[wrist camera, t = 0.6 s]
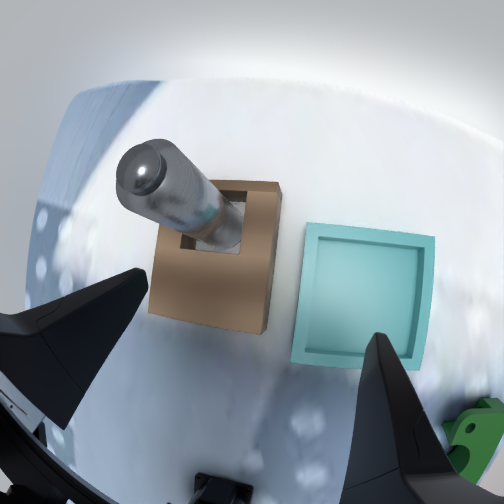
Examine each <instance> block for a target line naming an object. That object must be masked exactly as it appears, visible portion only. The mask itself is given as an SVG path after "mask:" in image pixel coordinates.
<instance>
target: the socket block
mask: <svg viewBox="0 0 504 504" xmlns="http://www.w3.org/2000/svg"><path fill="white" fill-rule="evenodd" d="M209 181H210V182H211V183H212V184H213V185H214V186H215V187H216V188H217V189H218V190H219V191H220V192H221V193H222V195H223V196H224V197H225V198H226V199H227V200H228V201H246V207H245V214H244V222H243V230H242V237H241V245H240V253H239V255H237V254H227V253H217V252H208V251H198V250H194V249H195V242H196V239H194V238H191V237H189V236H187V235H184V234H182V233H180V232H177V231H175V230H173V229H171V228H168V227H166V226H164V225H161V224H160V225H159V230H158V236H157V243H156V249H155V256H154V263H153V271H152V279H151V287H150V296H149V306H148V313H151V314H155V315H159V316H163V317H168V318H172V319H177V320H181V321H186V322H191V323H196V324H201V325H206V326H211V327H216V328H222V329H228V330H233V331H239V332H245V333H252V334H258V335H261V334H262V333H263V332H264V331H265V330H266V329H267V321H268V314H269V306H270V298H271V290H272V281H273V273H274V264H275V256H276V247H277V238H278V229H279V219H280V210H281V200H282V192H281V189H280V186H279V183H278V182H267V181H242V180H209Z"/></svg>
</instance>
